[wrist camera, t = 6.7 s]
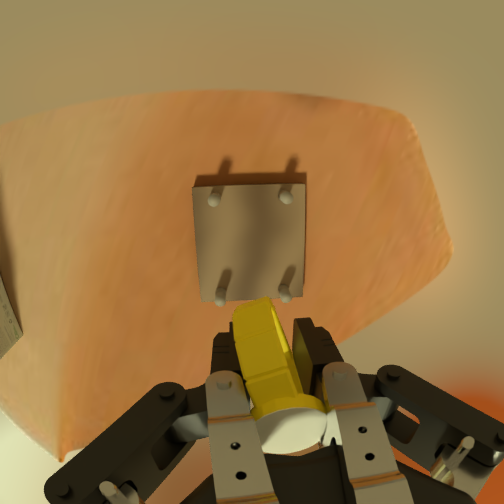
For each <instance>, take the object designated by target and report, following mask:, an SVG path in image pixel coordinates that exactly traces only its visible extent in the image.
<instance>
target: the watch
mask: <svg viewBox="0 0 504 504" xmlns="http://www.w3.org/2000/svg"><path fill="white" fill-rule="evenodd" d="M232 320H233V332H234V341H235V342H236V343H235V347H236V351H237V355H238V359H239V363H240V367H241V371H242V375H243V378H244V380H246V381H247V382H246V384H245V385H246V387H247V390H248V393H249V395H250V398H251V400H252V403H253V405H254V407H253V408H252V409H251V410H250V414H251V415H253V417H254V420H255V424H256V428H257V432H258V435H259V439H260V443H261V447H262V450H263V452H267V453H274V454H281V453H291V452H296V451H300V450H303V449H305V448H308V447H310V446H312V445H314V444H316V443H317V442H319V440H320V438H323V437H324V436H325V432H326V428H327V411H326V406H325V405H324V404H323V402H322V401H321V400H319V399H318V398H316V397H314V396H311V395H306V394H304V393H303V390H302V386H301V383H300V379H299V376H298V372H297V369H296V365H295V362H294V359H293V354H292V352H291V349H290V346H289V344H288V341H287V339H286V336H285V334H284V331H283V328H282V326H281V323H280V321H279V318H278V316H277V313H276V311H275V307H274V305H273V303H272V301H271V300H270V298H269V297H267V296H265V297H262V298H259V299H256V300H253V301H251V302H248V303H245V304H242V305H239V306H237V308H236V309H235V311H234V313H233V317H232Z"/></svg>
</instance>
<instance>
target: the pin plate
mask: <svg viewBox="0 0 504 504" xmlns="http://www.w3.org/2000/svg"><path fill="white" fill-rule="evenodd" d="M192 196H193V212H194V227H195V240H196V253H197V264H198V275H199V285H200V295H201V302H215V304H216V305H217V306H223V305H225V303H226V301H239V300H256V299H259V298H262V297H265V296H267V297H269V298H270V299H276V298H281V300H282V302H284V303H288V302H290V301H291V299H292V297H303V275H304V245H305V184H303V183H277V184H239V185H216V186H198V187H192Z"/></svg>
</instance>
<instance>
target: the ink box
mask: <svg viewBox="0 0 504 504" xmlns="http://www.w3.org/2000/svg"><path fill="white" fill-rule="evenodd" d="M22 336H23V333H22V331H21V329H20V327H19V324H18V322H17V320H16V317H15V315H14V312H13V310H12V307H11V305H10V302H9V299H8V296H7V294H6V291H5V288H4V285H3V282H2V279H1V276H0V359H1V358H2V357H3V356H4V355H5V354H6V353H7V352H8V351H9V350H10V349H11V347H12V346H13V345H14V344H15V343H16V342H17V341H18V340H19V339H20V338H21V337H22Z"/></svg>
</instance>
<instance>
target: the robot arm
mask: <svg viewBox="0 0 504 504" xmlns="http://www.w3.org/2000/svg"><path fill="white" fill-rule="evenodd" d="M235 343H236V342H235V341H234V332H233V322H230V331H229V332H224V333H218V334H217V335H216V337H215V338H214V339H213V350H212V361H211V373H210V375H209V376H208V377H207V379H206V381H205V383H204V384H203V385H201V386H199V387H196V388H192V389H187V390H185V389H184V388H183V387H182V386H181V385H180V384H177V383H174V382H164V383H160V384H158V385H156V386H154V387H153V388H152V389H151V390H150V391H149V392H147V393H146V394H145V395H144V396H143V397H142V398H141V399H140V400H139V401H138V402H136V403H135V404H134V405H133V406H132V407H131V408H130V409H129V410H128V411H126V412H125V413H124V414H123V415H122V416H121V417H120V418H119V419H117V420H116V421H115V422H114V423H113V424H112V425H111V426H109V427H108V428H107V429H106V430H105V431H104V432H103V433H101V434H100V435H99V436H98V437H97V438H96V439H95V440H93V441H92V442H91V443H90V444H89V445H88V446H86V447H85V448H84V449H83V450H82V451H81V452H79V453H78V454H77V455H76V456H75V457H73V458H72V459H71V460H70V461H69V462H68V463H67V464H65V465H64V466H63V467H62V468H60V469H59V470H58V471H57V472H56V473H54V474H53V475H52V476H51V477H50V478H49V479H48V480H47V481H46V483H45V485H44V494H45V497H46V499H47V500H48V501H49V503H50V504H145V501H146V500H147V498H149V496H150V495H151V494H152V493H153V492H154V491H155V490H156V488H158V486H159V485H160V484H161V483H162V482H163V481H164V480H165V478H166V477H167V476H168V475H169V474H170V472H171V471H172V470H173V469H174V468H175V467H176V465H177V464H178V463H179V462H180V461H181V459H182V458H183V457H184V456H185V455H186V453H187V452H188V451H189V450H190V449H191V447H192V446H193V445H194V443H195V442H196V440H197V439H202V438H206V437H209V442H210V452H211V461H212V470H213V474H211V475H210V476H209V477H207V478H206V479H205V480H204V481H203V482H202V483H201V484H200V485H199V486H198V487H197V488H196V489H195V490H194V491H193V492H192V493H191V494H189V495H188V496H187V497H186V498H185V499H184V500H183V501H182V502H181V503H180V504H476V502H475V498H476V497H477V495H478V494H479V492H480V491H481V489H482V487H483V486H484V484H485V483H486V481H487V479H488V477H489V476H490V474H491V472H492V471H493V470H494V469H495V468H496V466H497V465H498V464H499V463H500V462H501V461H502V460H503V458H504V424H503V423H501V422H499V421H498V420H496V419H494V418H492V417H490V416H488V415H486V414H484V413H483V412H481V411H479V410H477V409H475V408H473V407H472V406H470V405H468V404H466V403H464V402H463V401H461V400H459V399H457V398H455V397H453V396H452V395H450V394H448V393H446V392H445V391H443V390H441V389H439V388H438V387H436V386H434V385H432V384H430V383H429V382H427V381H425V380H423V379H422V378H420V377H418V376H416V375H414V374H413V373H411V372H409V371H408V370H406V369H404V368H402V367H400V366H397V365H385V366H383V367H381V368H380V369H379V370H378V372H377V375H373V374H372V375H371V374H361V373H357V371H356V369H355V368H354V367H353V366H352V365H350V364H348V363H345V362H344V360H343V358H342V356H341V354H340V353H339V351H338V349H337V347H336V345H335V343H334V341H333V340H332V337H331V335H330V333H329V332H328V331H327V330H325V329H324V328H323V327H315V326H314V324H313V322H312V320H311V318H310V317H309V318H295V319H294V325H293V342H292V352H293V359H294V362H295V365H296V369H297V372H298V376H299V379H300V383H301V386H302V390H303V393H304V394H306V395H311V396H314V397H316V398H318V399H319V400H321V401H322V402H323V404H324V405H325V406H326V411H327V428H326V432H325V436H324V437H323V438H320V440H319V442H318V446H319V450H316V451H314V452H311V453H308V454H305V455H302V456H287V455H276V454H263V450H262V447H261V443H260V439H259V435H258V432H257V428H256V424H255V420H254V417H253V415H251V414H250V395H249V393H248V390H247V387H246V385H245V384H246V382H247V381H246V380H244V378H243V375H242V371H241V367H240V363H239V359H238V355H237V351H236V347H235ZM398 406H401V407H402V408H404V409H406V410H407V411H409V412H410V413H412V414H413V415H415V416H416V417H417V418H418V419H419V422H420V424H418V423H416V422H415V421H413V420H412V419H410V418H408V417H407V416H406V415H404V414H403V413H401V412H400V411H398V410H397V409H398ZM391 445H392V446H393V447H394V448H396V449H397V450H399V451H400V452H402V453H403V454H405V455H406V456H407V457H409V458H410V459H412V460H413V461H415V462H416V463H418V464H419V465H420V466H422V467H423V468H425V469H427V470H428V471H430V475H431V477H430V476H428V475H425V474H423V473H421V472H419V471H417V470H415V469H413V468H411V467H409V466H407V465H405V464H403V463H401V462H399V461H397V460H395V458H394V455H393V451H392V448H391Z"/></svg>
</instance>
